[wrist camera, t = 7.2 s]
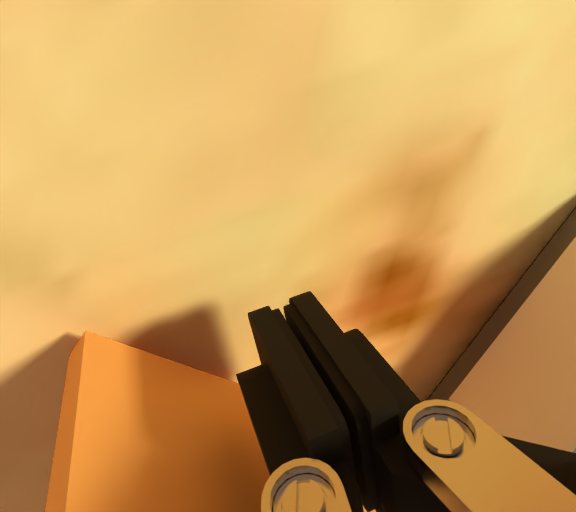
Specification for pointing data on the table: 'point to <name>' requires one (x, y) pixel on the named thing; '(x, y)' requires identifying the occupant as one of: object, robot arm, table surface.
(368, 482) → the robot arm
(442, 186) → the table surface
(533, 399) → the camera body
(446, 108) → the table surface
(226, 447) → the side door
